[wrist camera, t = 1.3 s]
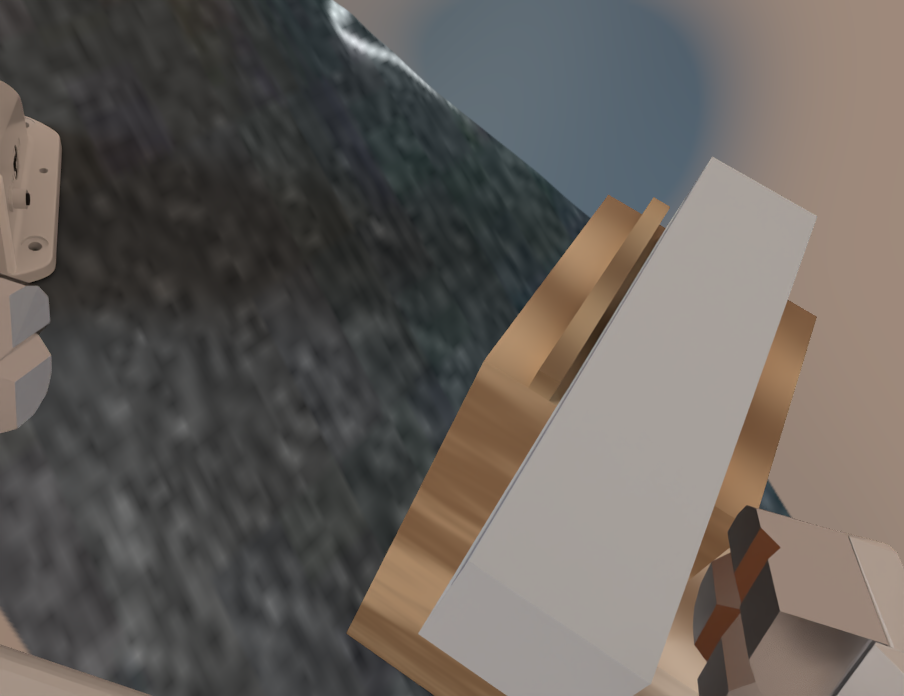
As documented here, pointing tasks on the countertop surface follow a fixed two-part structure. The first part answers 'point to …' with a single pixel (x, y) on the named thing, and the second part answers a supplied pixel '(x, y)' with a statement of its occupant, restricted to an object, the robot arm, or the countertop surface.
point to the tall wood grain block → (515, 431)
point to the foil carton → (630, 459)
